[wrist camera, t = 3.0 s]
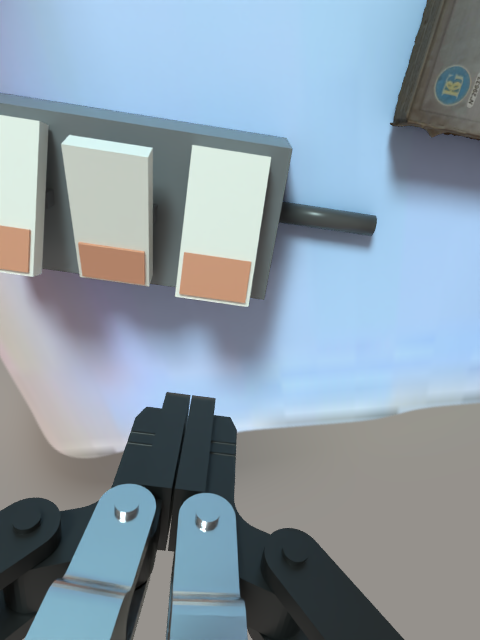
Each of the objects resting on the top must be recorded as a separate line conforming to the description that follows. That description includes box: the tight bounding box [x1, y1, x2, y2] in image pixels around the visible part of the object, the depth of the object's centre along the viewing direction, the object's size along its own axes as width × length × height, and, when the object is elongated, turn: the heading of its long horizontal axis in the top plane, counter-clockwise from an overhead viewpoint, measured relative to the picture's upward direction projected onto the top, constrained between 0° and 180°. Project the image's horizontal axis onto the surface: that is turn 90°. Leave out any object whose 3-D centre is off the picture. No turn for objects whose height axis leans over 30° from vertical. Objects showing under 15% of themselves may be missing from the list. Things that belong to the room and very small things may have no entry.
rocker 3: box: [175, 145, 271, 307], centre depth 21 cm, size 4×7×1 cm, turn 172°
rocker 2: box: [61, 135, 153, 287], centre depth 21 cm, size 4×7×1 cm, turn 172°
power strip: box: [0, 93, 377, 300], centre depth 25 cm, size 22×8×5 cm, turn 82°
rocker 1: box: [0, 115, 49, 277], centre depth 21 cm, size 4×7×1 cm, turn 172°
